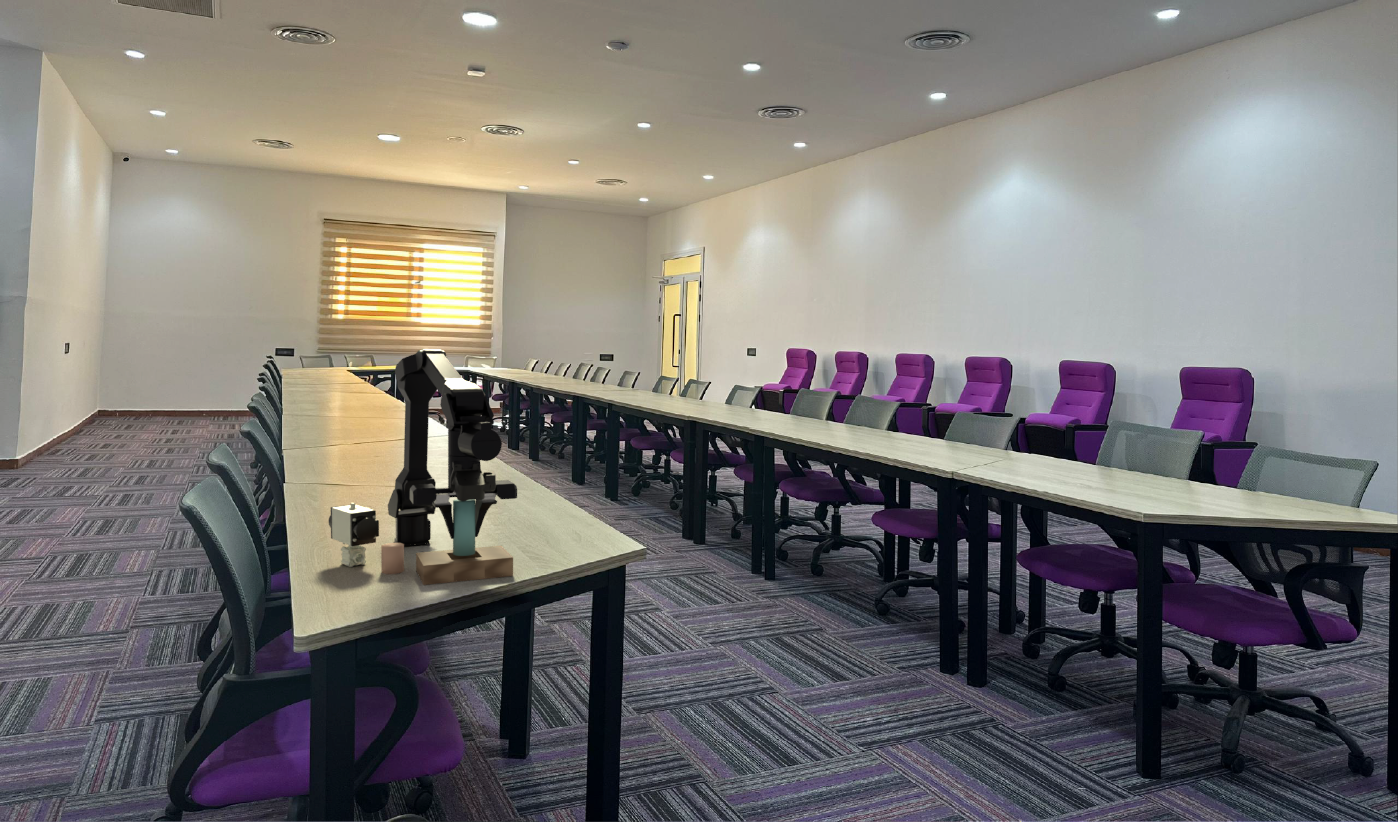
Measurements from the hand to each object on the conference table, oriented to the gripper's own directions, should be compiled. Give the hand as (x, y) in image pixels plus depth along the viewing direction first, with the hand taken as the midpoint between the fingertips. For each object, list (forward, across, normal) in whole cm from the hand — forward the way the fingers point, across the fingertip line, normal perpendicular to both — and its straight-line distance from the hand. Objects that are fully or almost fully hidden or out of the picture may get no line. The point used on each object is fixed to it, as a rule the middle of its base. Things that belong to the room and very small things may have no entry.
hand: (464, 537), depth 154 cm
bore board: (+7, 0, 0) cm, 7 cm away
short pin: (+7, -12, +6) cm, 15 cm away
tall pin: (+3, 0, 0) cm, 3 cm away
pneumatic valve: (+7, -18, +14) cm, 24 cm away
